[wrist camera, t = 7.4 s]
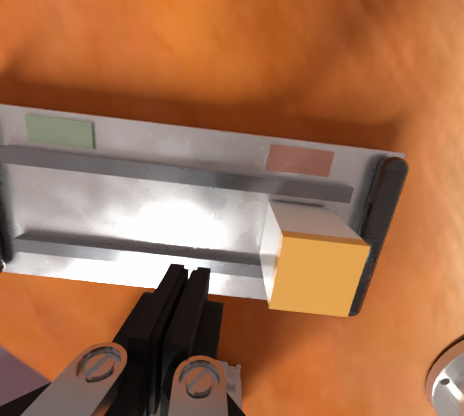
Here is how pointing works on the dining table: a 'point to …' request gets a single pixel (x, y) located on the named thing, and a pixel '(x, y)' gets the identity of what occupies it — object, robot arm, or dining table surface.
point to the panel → (172, 197)
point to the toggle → (310, 260)
